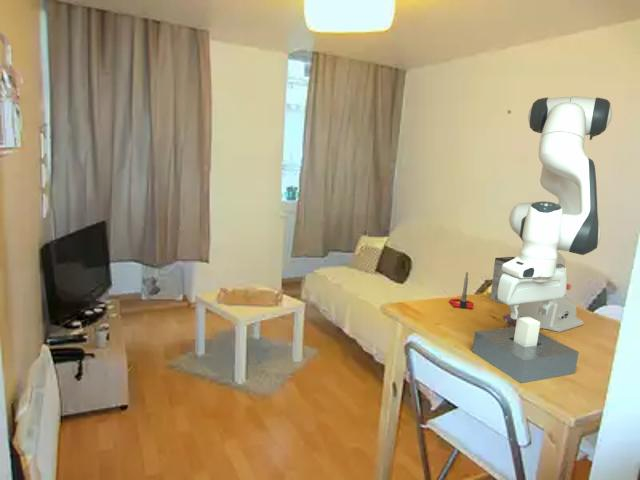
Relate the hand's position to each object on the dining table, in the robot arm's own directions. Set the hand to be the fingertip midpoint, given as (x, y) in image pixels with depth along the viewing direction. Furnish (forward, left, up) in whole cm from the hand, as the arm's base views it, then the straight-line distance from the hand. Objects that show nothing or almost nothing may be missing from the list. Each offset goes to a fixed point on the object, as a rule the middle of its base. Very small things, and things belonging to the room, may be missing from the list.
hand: (528, 316), depth 126 cm
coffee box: (-34, -43, -13) cm, 56 cm away
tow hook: (-13, -43, -13) cm, 47 cm away
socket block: (0, 0, -13) cm, 13 cm away
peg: (0, 0, -13) cm, 13 cm away
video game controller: (-15, -17, -13) cm, 26 cm away
